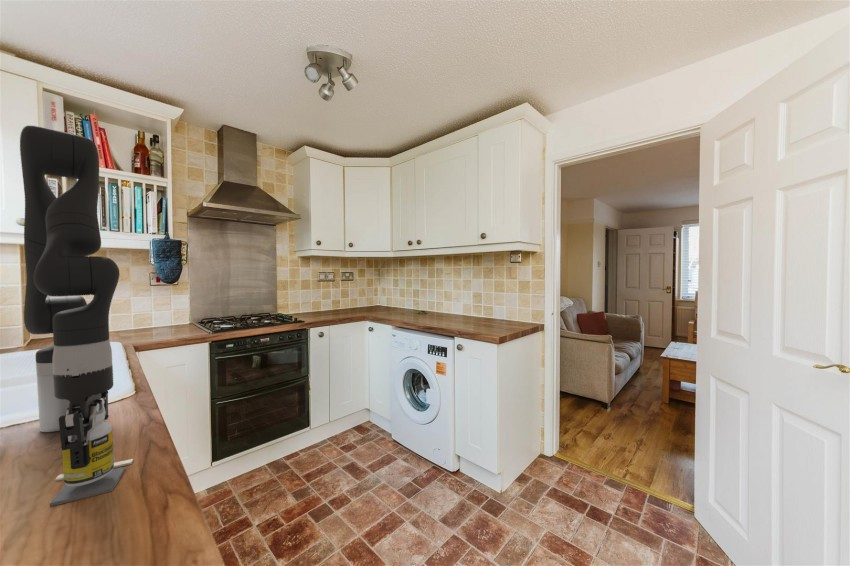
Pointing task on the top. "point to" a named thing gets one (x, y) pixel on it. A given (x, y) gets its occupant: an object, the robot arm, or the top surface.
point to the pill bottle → (92, 455)
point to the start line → (117, 464)
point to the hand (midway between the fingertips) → (88, 456)
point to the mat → (89, 488)
